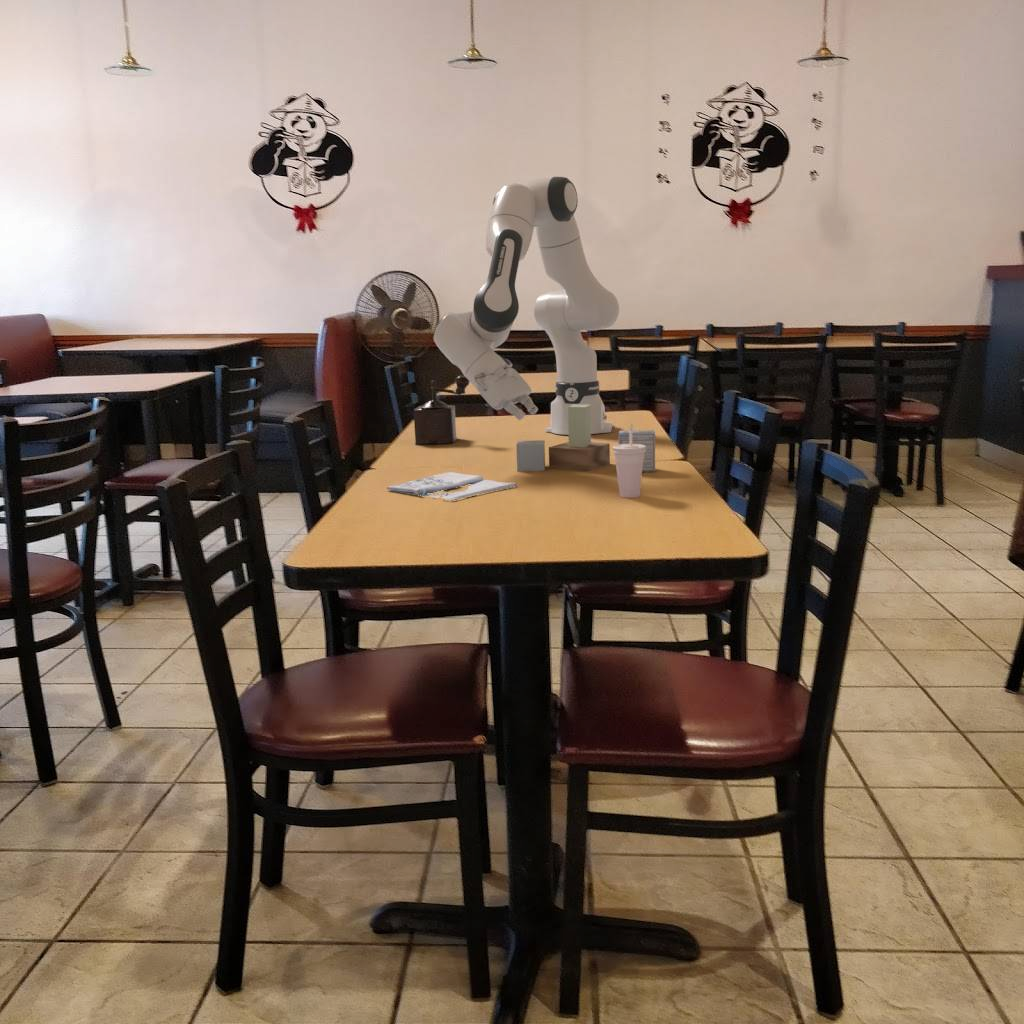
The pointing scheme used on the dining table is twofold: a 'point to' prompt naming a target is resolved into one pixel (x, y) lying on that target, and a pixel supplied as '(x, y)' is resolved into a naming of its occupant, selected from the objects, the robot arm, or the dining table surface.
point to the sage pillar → (579, 425)
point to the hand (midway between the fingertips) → (529, 415)
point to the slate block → (531, 455)
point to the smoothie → (629, 467)
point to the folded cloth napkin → (449, 486)
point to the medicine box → (645, 439)
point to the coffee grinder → (437, 417)
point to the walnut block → (579, 456)
